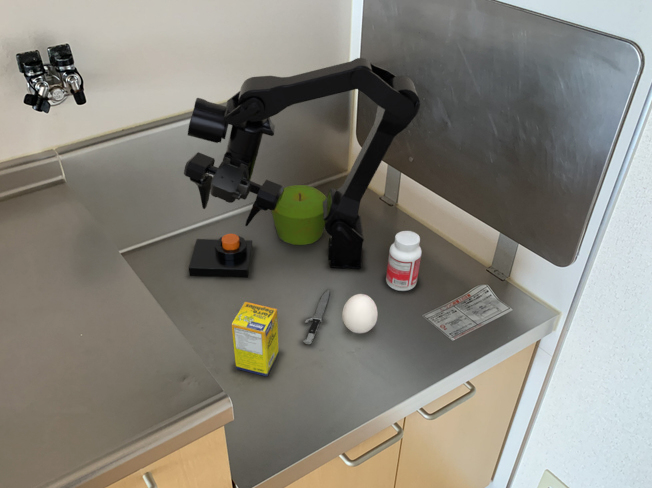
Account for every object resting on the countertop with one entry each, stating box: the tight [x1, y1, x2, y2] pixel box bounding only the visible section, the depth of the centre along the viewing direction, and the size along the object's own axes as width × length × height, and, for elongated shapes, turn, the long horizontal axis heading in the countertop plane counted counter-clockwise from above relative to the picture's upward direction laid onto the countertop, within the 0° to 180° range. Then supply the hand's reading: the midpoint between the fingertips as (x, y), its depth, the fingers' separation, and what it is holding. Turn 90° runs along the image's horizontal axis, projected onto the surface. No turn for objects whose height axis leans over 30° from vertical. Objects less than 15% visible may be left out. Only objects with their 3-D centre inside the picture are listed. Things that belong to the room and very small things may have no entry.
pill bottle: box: [385, 230, 423, 292], centre depth 120 cm, size 6×6×11 cm
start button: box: [221, 233, 240, 250], centre depth 126 cm, size 4×4×2 cm
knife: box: [303, 289, 330, 345], centre depth 115 cm, size 15×1×3 cm
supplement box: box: [231, 301, 280, 377], centre depth 104 cm, size 6×6×11 cm
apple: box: [271, 184, 328, 246], centre depth 132 cm, size 12×12×11 cm
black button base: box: [188, 235, 254, 279], centre depth 127 cm, size 12×10×4 cm
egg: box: [341, 293, 379, 334], centre depth 111 cm, size 6×6×8 cm
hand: (225, 216), depth 122 cm, fingers open, 9 cm apart
